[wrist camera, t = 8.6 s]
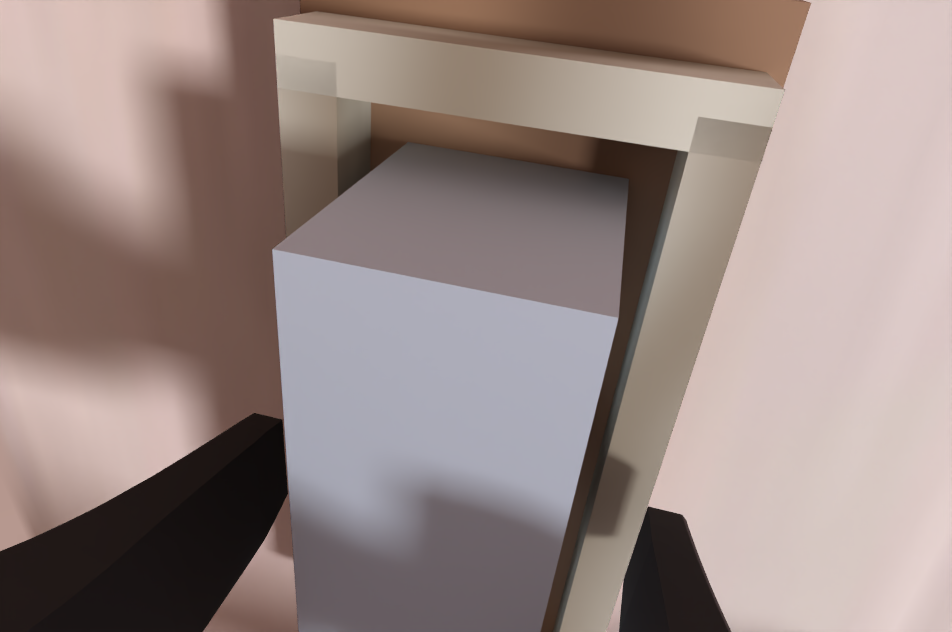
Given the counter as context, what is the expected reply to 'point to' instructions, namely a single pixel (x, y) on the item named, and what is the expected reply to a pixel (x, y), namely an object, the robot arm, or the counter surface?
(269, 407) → the counter surface
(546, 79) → the framed wooden panel
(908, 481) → the counter surface
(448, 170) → the grey box
